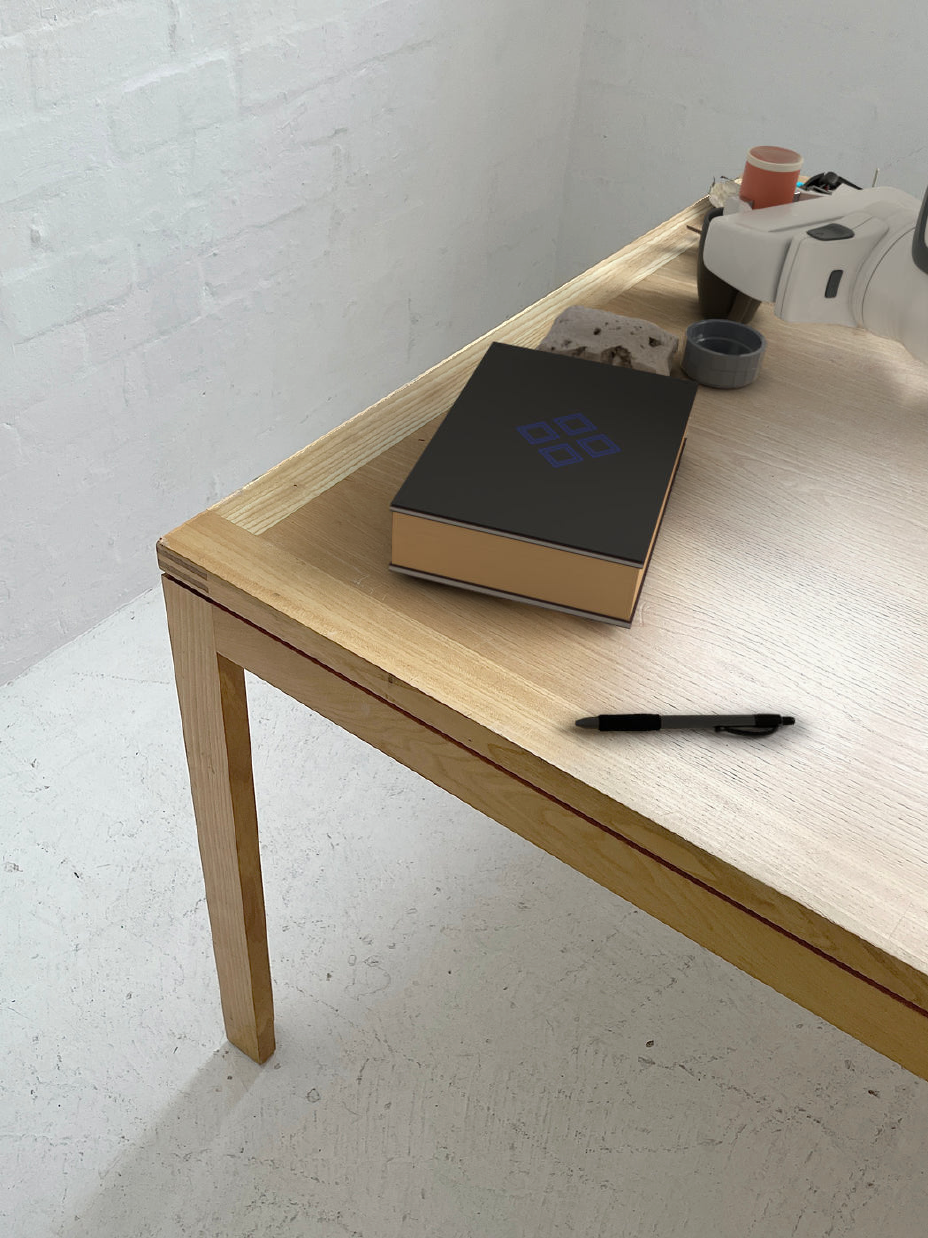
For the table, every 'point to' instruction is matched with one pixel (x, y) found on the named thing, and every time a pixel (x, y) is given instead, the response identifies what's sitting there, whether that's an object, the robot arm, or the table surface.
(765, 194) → the canister
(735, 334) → the bowl
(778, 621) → the table surface
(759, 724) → the pen
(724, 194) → the stone fragment
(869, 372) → the table surface
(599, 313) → the stone
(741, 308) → the mug
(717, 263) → the robot arm
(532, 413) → the book
